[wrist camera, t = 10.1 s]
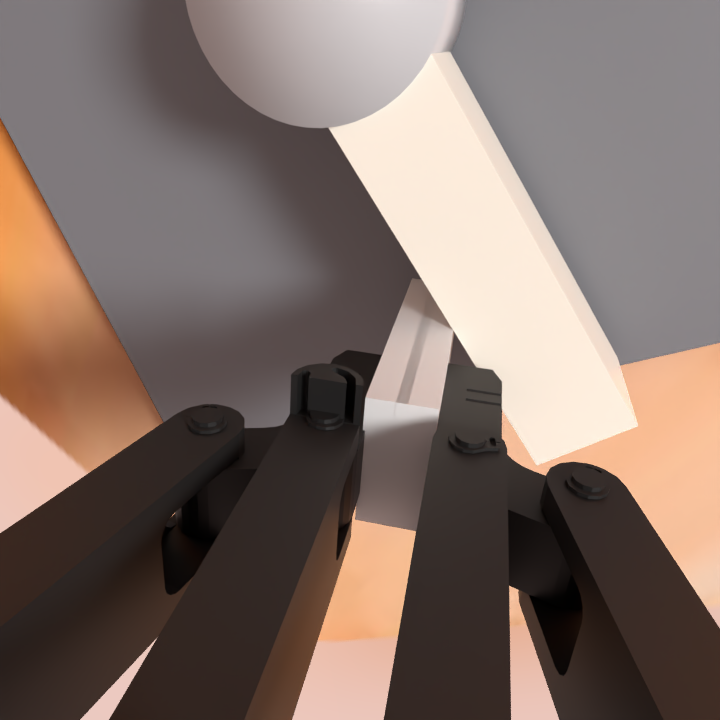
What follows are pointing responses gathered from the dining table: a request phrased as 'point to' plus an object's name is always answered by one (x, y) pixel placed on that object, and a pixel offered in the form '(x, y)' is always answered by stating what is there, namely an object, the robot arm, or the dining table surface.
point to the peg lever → (434, 191)
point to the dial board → (359, 185)
